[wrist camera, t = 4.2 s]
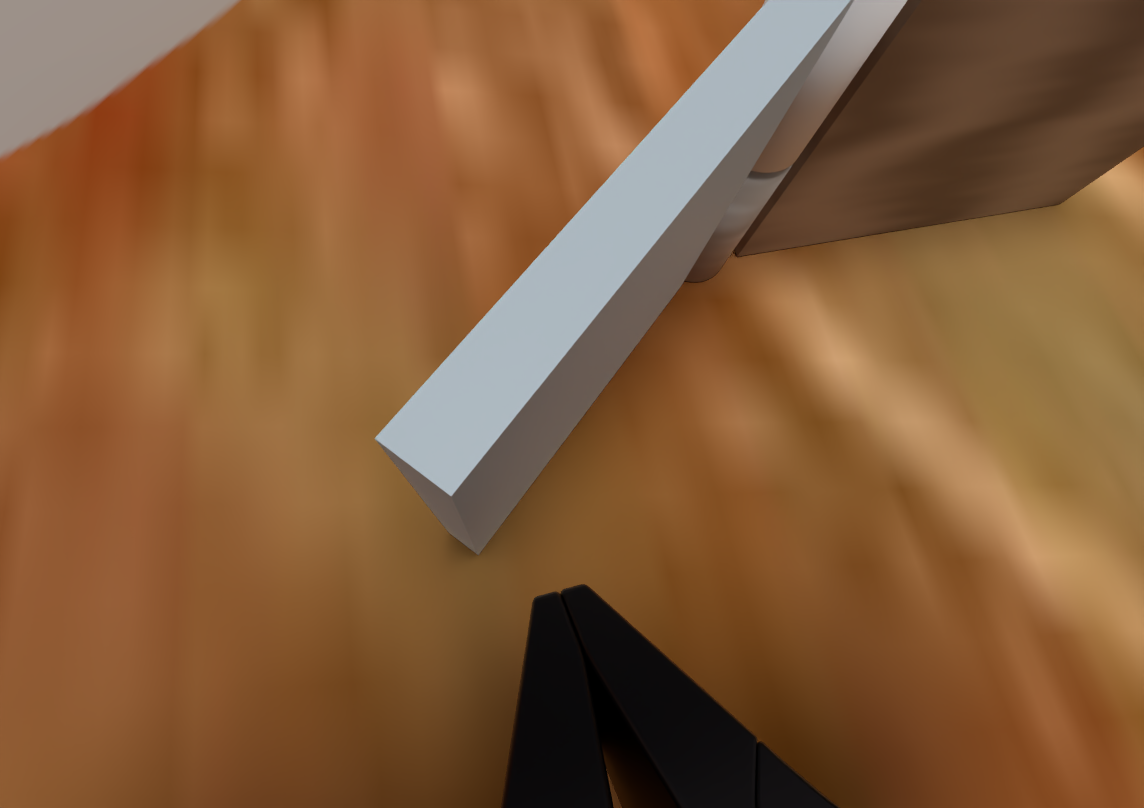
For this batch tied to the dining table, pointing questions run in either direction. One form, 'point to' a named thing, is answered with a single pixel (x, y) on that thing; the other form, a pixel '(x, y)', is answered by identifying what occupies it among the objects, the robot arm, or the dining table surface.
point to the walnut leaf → (955, 125)
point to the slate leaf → (621, 263)
